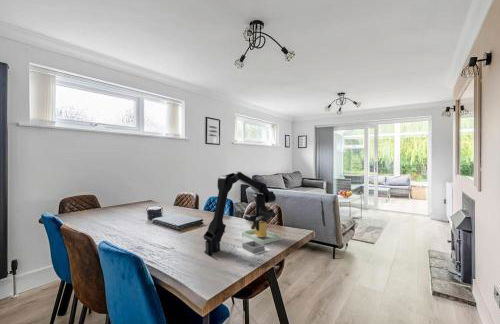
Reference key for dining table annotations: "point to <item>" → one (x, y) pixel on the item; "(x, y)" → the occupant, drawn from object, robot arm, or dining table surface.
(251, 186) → the robot arm
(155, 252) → the dining table surface
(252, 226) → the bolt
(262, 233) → the tan rectangular block
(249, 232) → the parts tray
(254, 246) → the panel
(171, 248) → the dining table surface
